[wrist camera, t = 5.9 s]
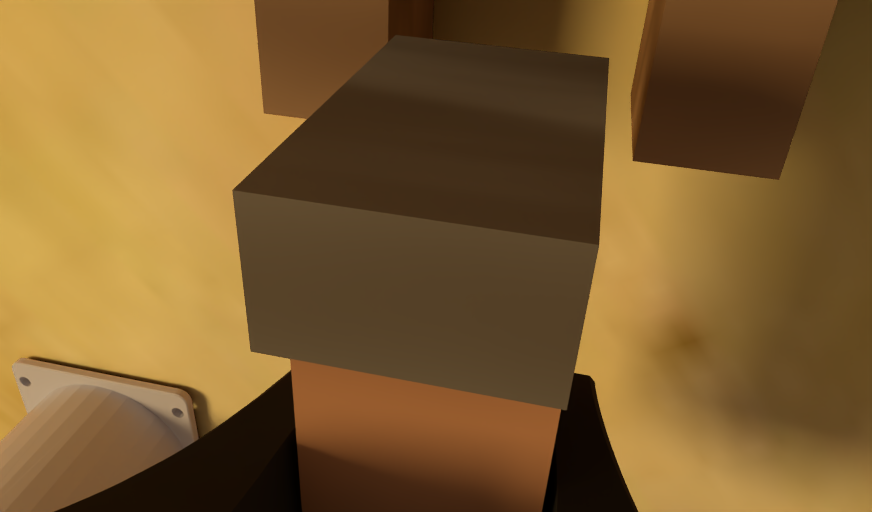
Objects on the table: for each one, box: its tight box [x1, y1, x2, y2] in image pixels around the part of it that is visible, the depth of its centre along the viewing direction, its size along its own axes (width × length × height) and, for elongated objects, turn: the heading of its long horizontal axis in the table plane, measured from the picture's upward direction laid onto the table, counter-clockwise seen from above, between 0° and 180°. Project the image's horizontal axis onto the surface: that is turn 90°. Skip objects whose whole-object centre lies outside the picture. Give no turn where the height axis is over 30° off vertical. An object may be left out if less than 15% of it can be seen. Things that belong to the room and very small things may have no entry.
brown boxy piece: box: [233, 35, 609, 512], centre depth 12 cm, size 12×4×6 cm, turn 177°
